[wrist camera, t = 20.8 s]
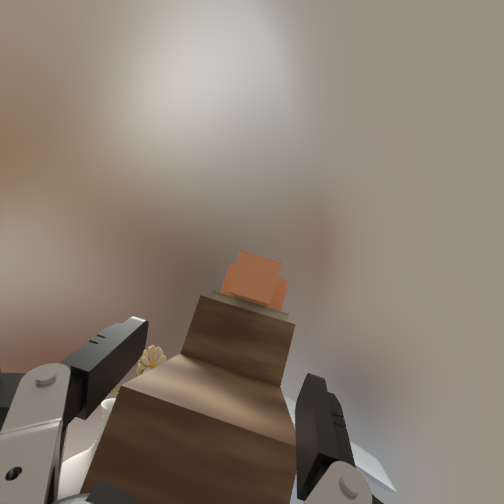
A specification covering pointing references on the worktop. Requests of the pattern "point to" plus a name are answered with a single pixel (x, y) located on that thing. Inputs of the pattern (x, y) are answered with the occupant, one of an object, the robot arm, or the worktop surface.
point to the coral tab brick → (255, 281)
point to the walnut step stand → (207, 415)
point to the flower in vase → (80, 463)
